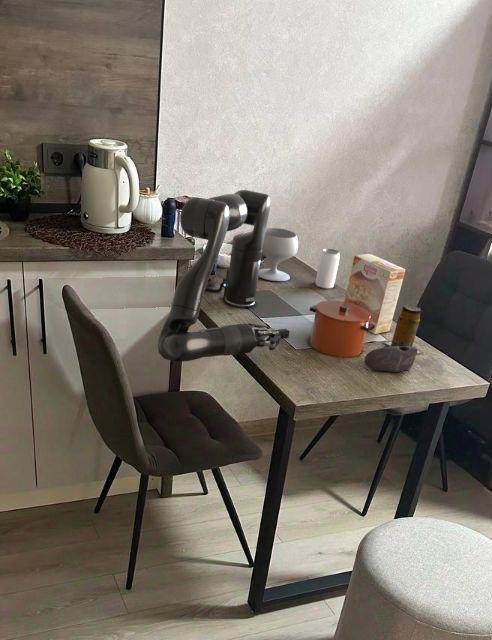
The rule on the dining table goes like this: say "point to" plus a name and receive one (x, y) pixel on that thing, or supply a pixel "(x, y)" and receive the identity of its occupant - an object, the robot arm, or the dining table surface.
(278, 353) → the dining table surface
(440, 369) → the dining table surface
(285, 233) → the chalice
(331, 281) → the can
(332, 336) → the pot
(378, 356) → the perforated stone tool
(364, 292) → the coffeecake box
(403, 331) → the condiment
